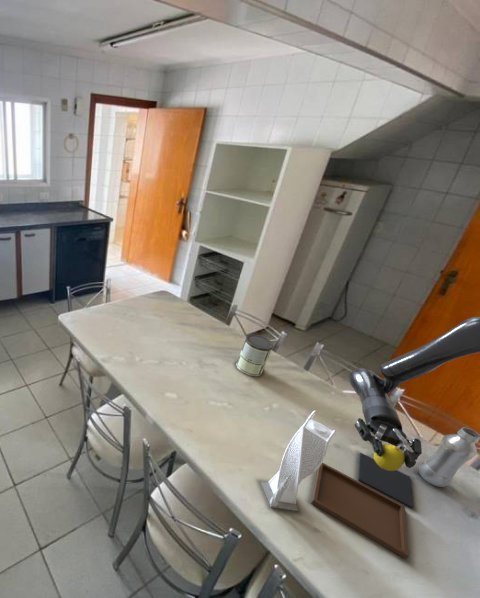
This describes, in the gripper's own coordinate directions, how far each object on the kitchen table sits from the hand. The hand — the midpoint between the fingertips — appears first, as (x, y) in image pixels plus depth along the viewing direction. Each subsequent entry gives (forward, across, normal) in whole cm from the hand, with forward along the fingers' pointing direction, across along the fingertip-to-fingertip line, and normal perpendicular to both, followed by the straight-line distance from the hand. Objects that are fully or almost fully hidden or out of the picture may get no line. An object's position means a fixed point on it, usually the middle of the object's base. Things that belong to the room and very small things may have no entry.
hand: (395, 459), depth 82 cm
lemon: (-3, 0, +6) cm, 7 cm away
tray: (+3, -2, +18) cm, 18 cm away
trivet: (-12, +7, +18) cm, 22 cm away
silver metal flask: (-20, +20, +18) cm, 33 cm away
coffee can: (-45, -33, +18) cm, 59 cm away
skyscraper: (+11, -20, +18) cm, 29 cm away
